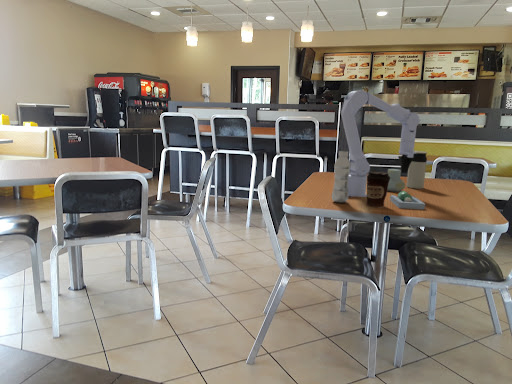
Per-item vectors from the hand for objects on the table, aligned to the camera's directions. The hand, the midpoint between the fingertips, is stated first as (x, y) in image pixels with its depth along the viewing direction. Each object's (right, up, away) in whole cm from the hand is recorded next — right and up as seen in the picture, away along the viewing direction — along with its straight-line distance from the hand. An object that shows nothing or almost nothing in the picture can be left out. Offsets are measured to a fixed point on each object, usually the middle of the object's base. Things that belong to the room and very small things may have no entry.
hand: (404, 172), depth 172 cm
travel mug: (+15, -6, +26) cm, 31 cm away
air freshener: (0, -8, +15) cm, 17 cm away
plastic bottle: (-31, -13, -16) cm, 37 cm away
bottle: (-5, -10, -12) cm, 17 cm away
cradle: (-5, -13, -16) cm, 21 cm away
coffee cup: (-19, -14, -21) cm, 31 cm away
